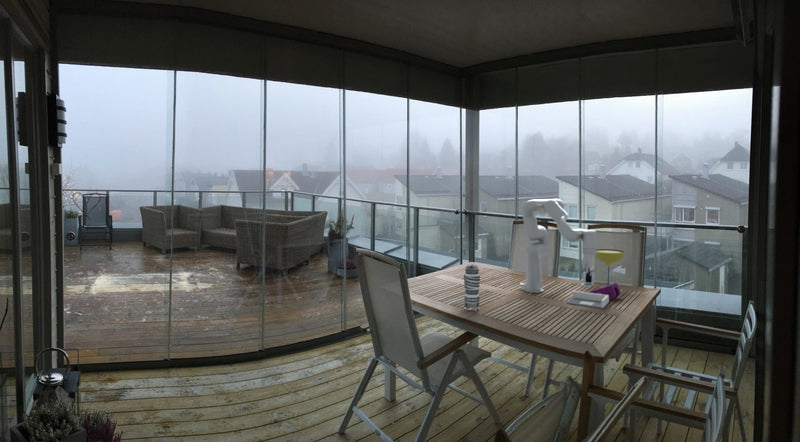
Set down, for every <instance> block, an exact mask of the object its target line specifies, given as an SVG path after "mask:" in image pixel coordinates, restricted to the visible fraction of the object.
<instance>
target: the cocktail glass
mask: <svg viewBox="0 0 800 442" xmlns="http://www.w3.org/2000/svg"><path fill="white" fill-rule="evenodd" d="M624 257H625V252H624V251H623V250H620V249H619V250H618V249H610V248H609V249H608V248H607V249H606V248H605V249H603V248H599V249H596V254H595V258H596V259H597V260H599V261H601V262H603V263H605V265H606V266H607V283H606V286H608V285H610V267H611V266H612V265H613V264H615V263H617V262H619V261H621V260H623V259H624ZM604 286H605V285H600V286H599V287H598V288H601V287H604Z"/></svg>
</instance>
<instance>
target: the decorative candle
mask: <svg viewBox="0 0 800 442" xmlns="http://www.w3.org/2000/svg"><path fill="white" fill-rule="evenodd" d="M464 269H465V272H464V275H463V278H464V279H463V280H464V281H463V284H464V289H465V291H464V302H463V303H464V308H465V307H466V308H472V309H473V308H474V309H475V308H479V309H480V291H479V290H480V282H479V281H481V279H480V278H481V276H480V272H479V271H480V270H479V269H480V268H479V265H477V264H467V265H466V266H465V267H464Z"/></svg>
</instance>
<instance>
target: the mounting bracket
mask: <svg viewBox="0 0 800 442" xmlns="http://www.w3.org/2000/svg"><path fill="white" fill-rule="evenodd" d="M603 286H604V287H601V288H599V287H598V288H595V289H592V290H589V291H587V292H586V293H594V294H602V295H609V302H610V301H613V300H614V299H617V298H618V297H620V295H621V289H620V288H619V285H618V283H617V282H614V283H612V284H609V285H608V286H607V285H603Z"/></svg>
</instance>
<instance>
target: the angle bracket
mask: <svg viewBox="0 0 800 442" xmlns="http://www.w3.org/2000/svg"><path fill="white" fill-rule="evenodd" d="M582 275H583V276H582V278H583V279H582V283H581V284H580V286H581V287H591V288H592V287H593V286H595V272H592V273H591V276H592V282H591V283H589V282H586V271H583V273H582Z"/></svg>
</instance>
